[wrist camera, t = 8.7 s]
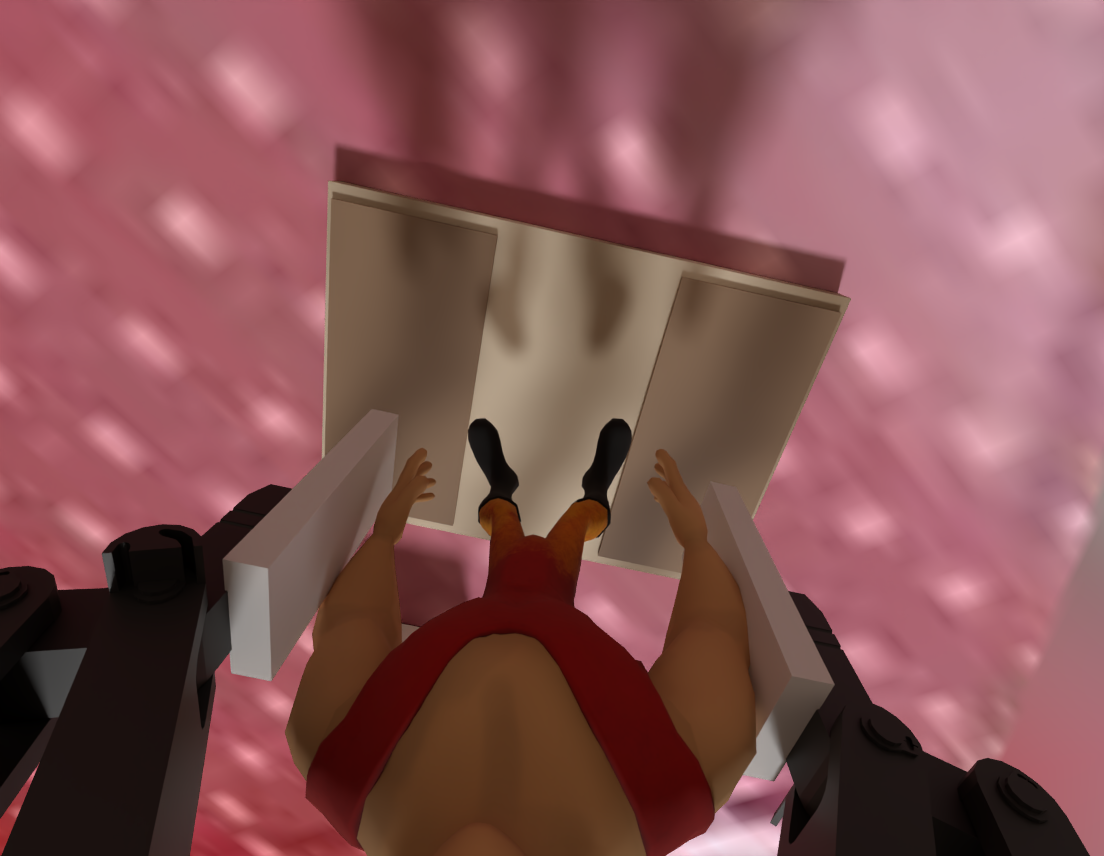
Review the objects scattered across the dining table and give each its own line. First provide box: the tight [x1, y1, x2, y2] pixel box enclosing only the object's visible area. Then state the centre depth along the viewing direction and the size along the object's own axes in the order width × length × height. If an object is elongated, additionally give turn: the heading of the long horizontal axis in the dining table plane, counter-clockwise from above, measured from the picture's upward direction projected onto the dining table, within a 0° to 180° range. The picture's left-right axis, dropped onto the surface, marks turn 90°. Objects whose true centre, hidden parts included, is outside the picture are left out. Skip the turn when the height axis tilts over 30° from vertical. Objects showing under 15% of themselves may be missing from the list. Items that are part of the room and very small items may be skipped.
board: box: [322, 181, 851, 579], centre depth 21 cm, size 18×13×1 cm
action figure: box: [285, 418, 757, 856], centre depth 10 cm, size 10×4×15 cm, turn 92°
